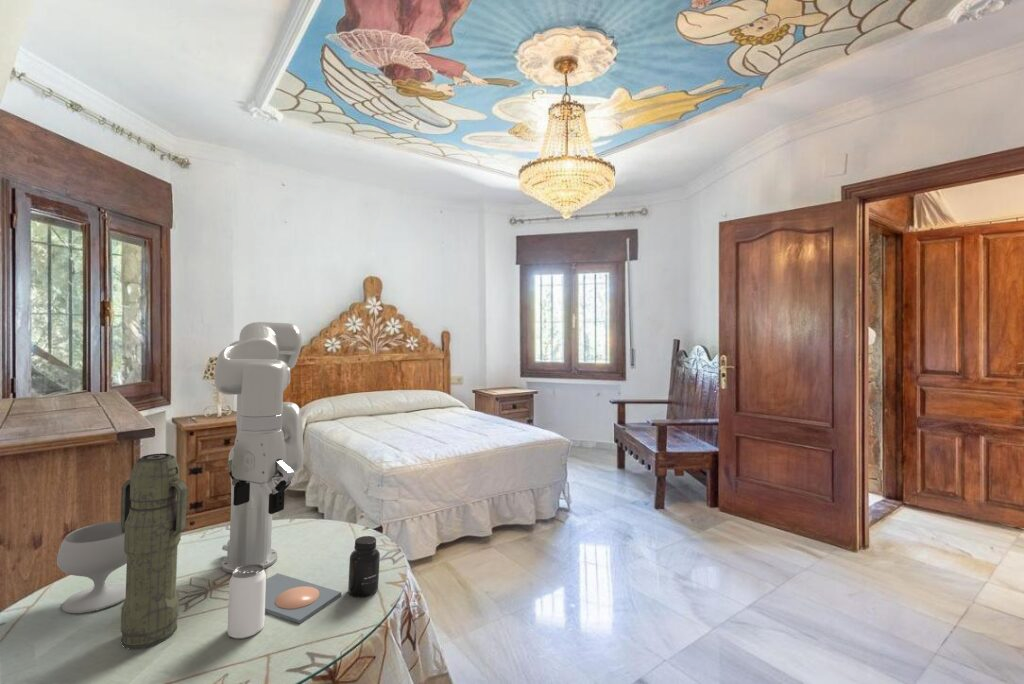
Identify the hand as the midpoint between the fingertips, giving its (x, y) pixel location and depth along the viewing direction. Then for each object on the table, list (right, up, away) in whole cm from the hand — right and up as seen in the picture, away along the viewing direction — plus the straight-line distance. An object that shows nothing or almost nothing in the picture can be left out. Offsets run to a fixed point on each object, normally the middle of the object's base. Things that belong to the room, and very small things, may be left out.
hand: (258, 507), depth 95 cm
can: (-2, -25, -1) cm, 25 cm away
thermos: (-20, -24, -3) cm, 31 cm away
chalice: (-40, -23, +8) cm, 47 cm away
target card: (0, -25, +11) cm, 27 cm away
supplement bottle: (+16, -25, +16) cm, 34 cm away
